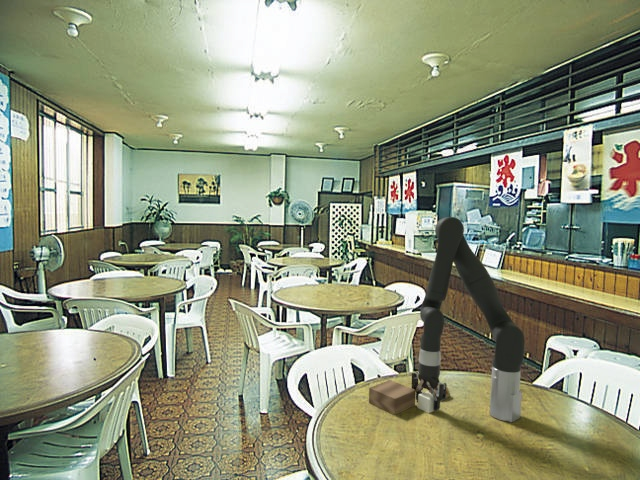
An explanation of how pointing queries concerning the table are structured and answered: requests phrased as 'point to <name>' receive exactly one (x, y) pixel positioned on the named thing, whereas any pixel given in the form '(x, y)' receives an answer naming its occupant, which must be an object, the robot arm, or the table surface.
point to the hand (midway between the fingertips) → (427, 405)
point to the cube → (426, 402)
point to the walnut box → (392, 396)
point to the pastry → (446, 392)
